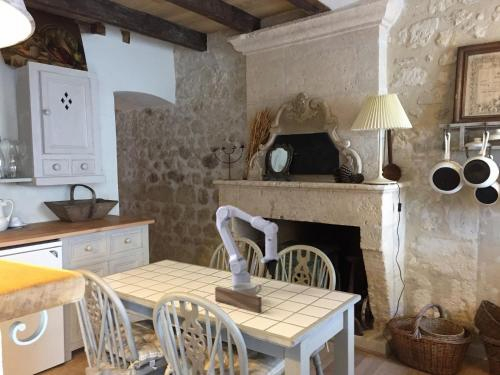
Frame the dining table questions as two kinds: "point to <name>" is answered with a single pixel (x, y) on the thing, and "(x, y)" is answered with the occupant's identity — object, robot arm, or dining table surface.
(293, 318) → the dining table surface
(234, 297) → the wall board
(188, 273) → the dining table surface
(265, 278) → the dining table surface
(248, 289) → the teacup
